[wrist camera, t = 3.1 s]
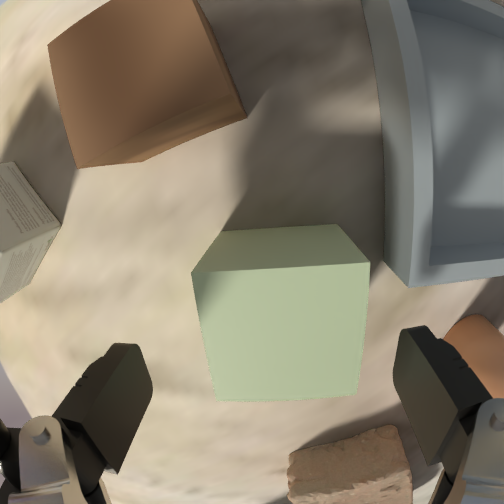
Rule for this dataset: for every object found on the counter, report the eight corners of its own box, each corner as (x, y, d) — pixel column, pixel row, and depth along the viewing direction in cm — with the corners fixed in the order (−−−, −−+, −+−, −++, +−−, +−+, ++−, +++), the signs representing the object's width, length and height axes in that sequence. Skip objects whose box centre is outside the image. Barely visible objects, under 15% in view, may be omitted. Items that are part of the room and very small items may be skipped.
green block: (336, 223, 13) (370, 262, 8) (335, 324, 14) (356, 394, 9) (221, 230, 13) (190, 272, 8) (233, 330, 15) (216, 401, 10)
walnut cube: (209, 23, 10) (177, -34, 6) (247, 118, 12) (230, 93, 7) (112, 70, 11) (47, 44, 6) (142, 161, 12) (77, 168, 8)
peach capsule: (495, 309, 13) (562, 375, 7) (479, 362, 14) (528, 433, 8) (446, 319, 14) (512, 402, 7) (431, 375, 15) (476, 459, 8)
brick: (281, 451, 18) (280, 505, 13) (396, 415, 16) (414, 468, 12) (334, 514, 22) (337, 547, 18) (408, 491, 20) (416, 524, 16)
